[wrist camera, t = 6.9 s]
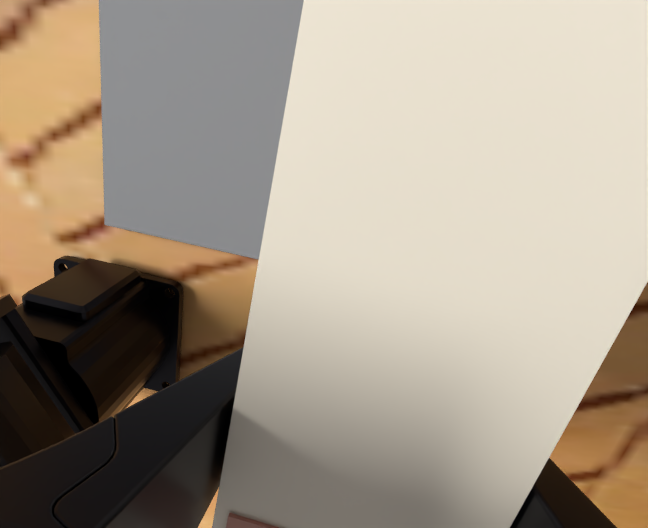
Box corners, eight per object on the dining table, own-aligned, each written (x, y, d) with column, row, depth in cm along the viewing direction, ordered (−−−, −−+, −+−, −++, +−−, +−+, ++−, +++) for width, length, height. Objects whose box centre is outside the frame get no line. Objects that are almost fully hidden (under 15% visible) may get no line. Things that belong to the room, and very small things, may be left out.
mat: (384, 282, 20) (383, 287, 19) (112, 221, 21) (104, 224, 20) (511, -229, 13) (516, -243, 13) (103, -278, 14) (91, -293, 14)
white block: (419, 510, 12) (428, 678, 8) (253, 461, 12) (197, 604, 8) (720, -186, 6) (1097, -507, 3) (401, -247, 6) (407, -608, 3)
